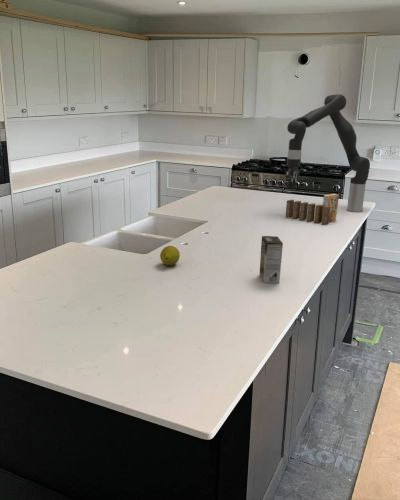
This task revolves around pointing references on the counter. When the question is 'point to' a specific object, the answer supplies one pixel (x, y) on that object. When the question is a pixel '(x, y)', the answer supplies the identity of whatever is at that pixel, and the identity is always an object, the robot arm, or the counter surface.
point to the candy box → (333, 202)
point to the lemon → (170, 255)
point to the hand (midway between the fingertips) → (291, 188)
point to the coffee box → (270, 259)
